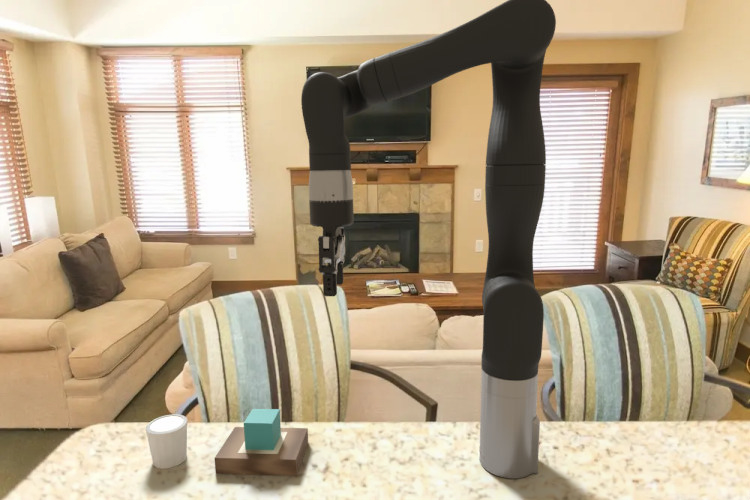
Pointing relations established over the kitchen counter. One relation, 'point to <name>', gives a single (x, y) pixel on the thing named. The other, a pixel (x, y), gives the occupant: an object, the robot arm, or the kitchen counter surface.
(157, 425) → the white tapered cup
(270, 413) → the teal cube
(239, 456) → the walnut plinth
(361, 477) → the kitchen counter surface
